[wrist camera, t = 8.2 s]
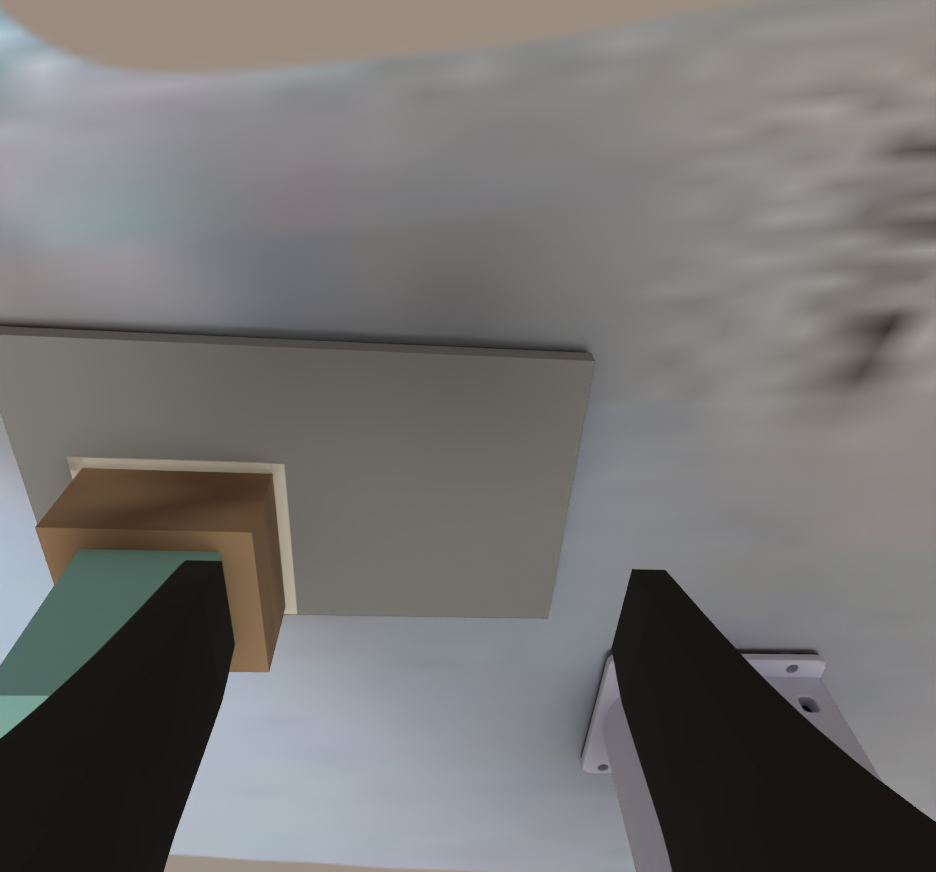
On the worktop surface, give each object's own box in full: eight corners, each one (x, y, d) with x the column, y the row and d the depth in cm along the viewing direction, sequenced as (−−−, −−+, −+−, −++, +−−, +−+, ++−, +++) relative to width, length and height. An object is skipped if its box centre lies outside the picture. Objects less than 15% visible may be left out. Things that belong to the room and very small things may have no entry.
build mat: (590, 352, 21) (595, 362, 20) (545, 607, 27) (548, 619, 26) (-14, 325, 20) (-27, 334, 19) (73, 599, 25) (65, 612, 25)
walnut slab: (272, 473, 22) (251, 532, 19) (285, 606, 25) (269, 672, 23) (82, 468, 22) (35, 527, 19) (119, 603, 25) (83, 670, 22)
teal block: (220, 551, 20) (162, 696, 15) (235, 645, 22) (187, 796, 18) (79, 549, 19) (-21, 695, 15) (107, 644, 22) (28, 797, 17)
